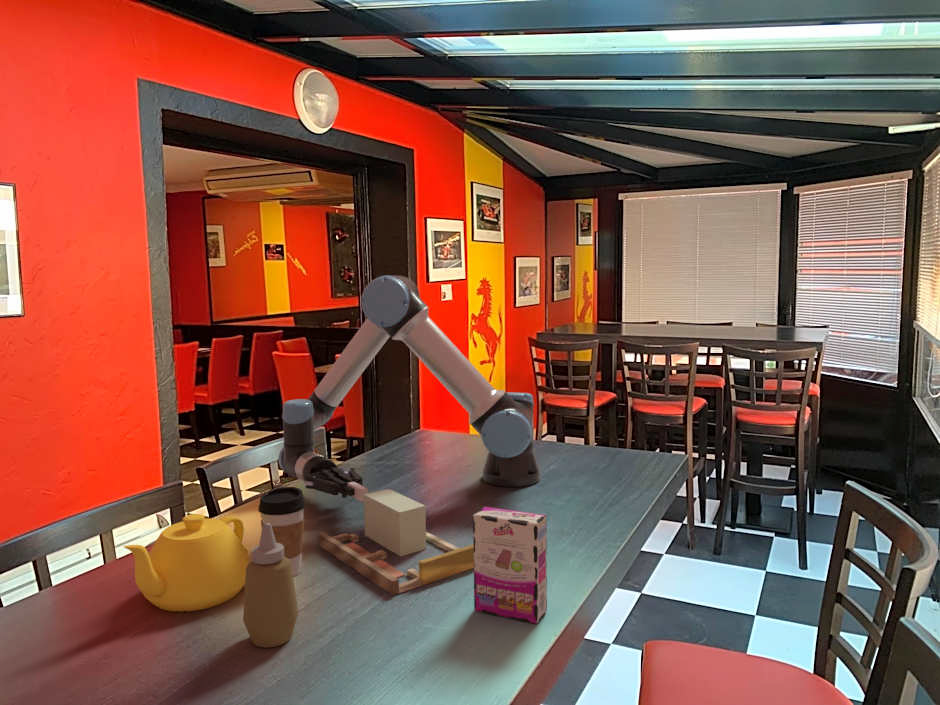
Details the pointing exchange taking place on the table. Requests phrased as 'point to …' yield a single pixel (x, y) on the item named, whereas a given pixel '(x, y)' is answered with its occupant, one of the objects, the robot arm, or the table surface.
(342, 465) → the table surface
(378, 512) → the brick
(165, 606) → the teapot
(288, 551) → the coffee cup
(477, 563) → the candy bar box
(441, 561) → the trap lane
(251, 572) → the squeeze bottle
